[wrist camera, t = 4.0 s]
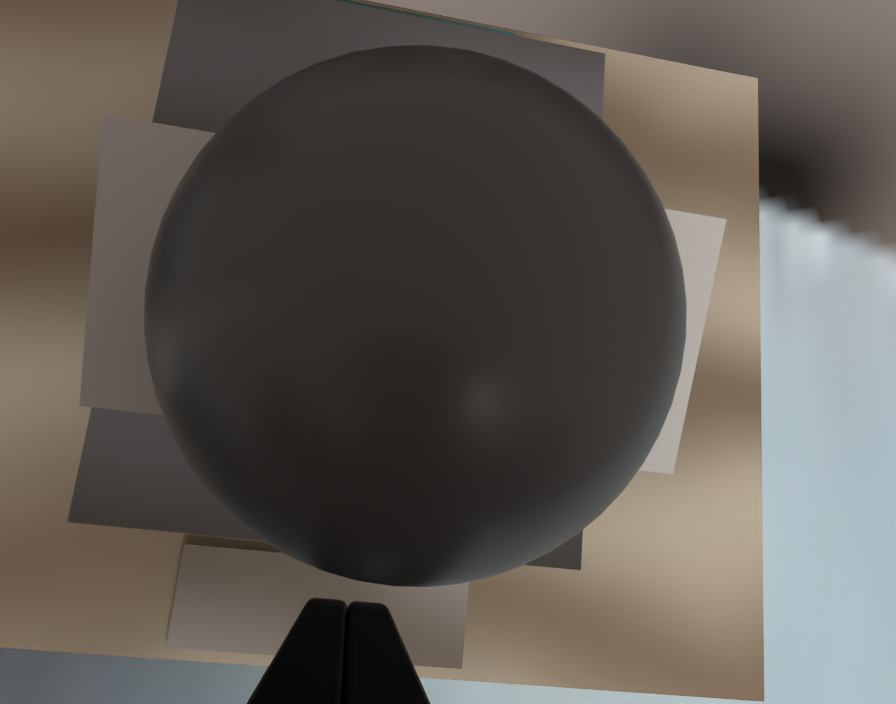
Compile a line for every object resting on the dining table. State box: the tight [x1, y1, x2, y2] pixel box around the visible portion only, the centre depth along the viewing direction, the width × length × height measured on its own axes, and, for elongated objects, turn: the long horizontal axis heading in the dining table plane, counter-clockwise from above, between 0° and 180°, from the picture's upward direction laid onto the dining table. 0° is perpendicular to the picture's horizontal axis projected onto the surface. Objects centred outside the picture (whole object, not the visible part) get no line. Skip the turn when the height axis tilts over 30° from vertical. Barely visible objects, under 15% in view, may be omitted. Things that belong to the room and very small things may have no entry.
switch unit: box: [0, 0, 764, 701], centre depth 16 cm, size 16×20×5 cm
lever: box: [79, 45, 727, 587], centre depth 8 cm, size 3×4×11 cm
